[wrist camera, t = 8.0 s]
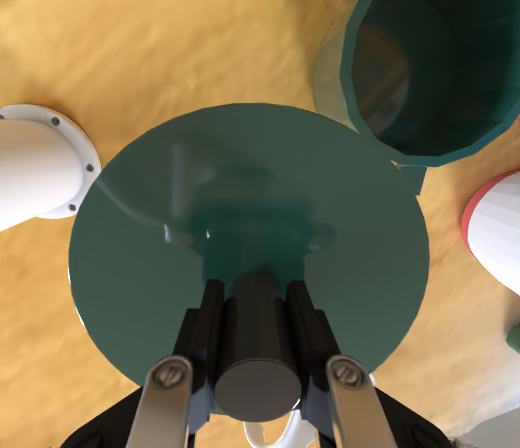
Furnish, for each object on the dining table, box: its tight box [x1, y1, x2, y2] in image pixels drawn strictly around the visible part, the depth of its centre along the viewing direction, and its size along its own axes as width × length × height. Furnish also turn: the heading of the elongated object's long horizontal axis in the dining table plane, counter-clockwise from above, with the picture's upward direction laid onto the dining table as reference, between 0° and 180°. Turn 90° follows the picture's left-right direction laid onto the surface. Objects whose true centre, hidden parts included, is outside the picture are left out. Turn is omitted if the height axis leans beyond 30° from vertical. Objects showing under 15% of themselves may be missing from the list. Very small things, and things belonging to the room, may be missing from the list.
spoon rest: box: [244, 373, 375, 448], centre depth 42 cm, size 24×12×7 cm, turn 133°
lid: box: [68, 103, 430, 423], centre depth 11 cm, size 17×17×6 cm
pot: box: [313, 0, 520, 195], centre depth 25 cm, size 16×22×10 cm
